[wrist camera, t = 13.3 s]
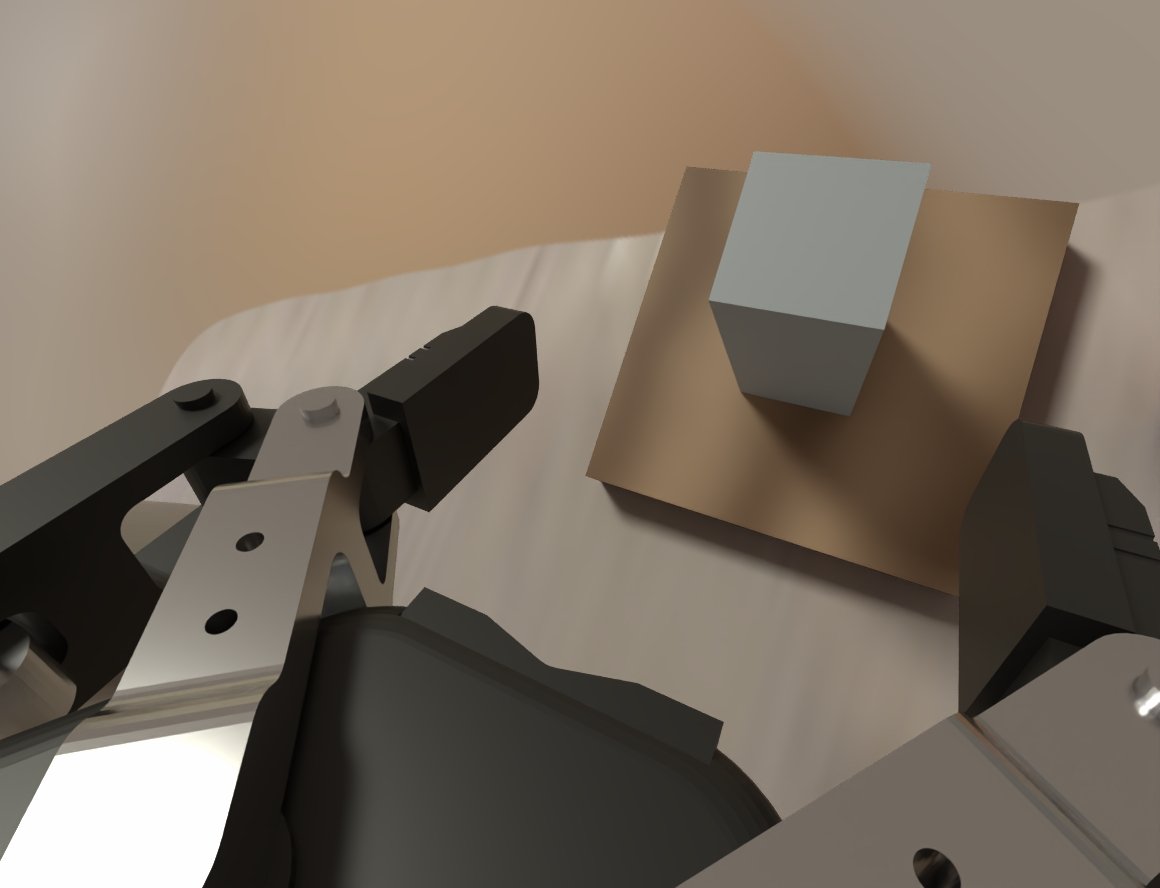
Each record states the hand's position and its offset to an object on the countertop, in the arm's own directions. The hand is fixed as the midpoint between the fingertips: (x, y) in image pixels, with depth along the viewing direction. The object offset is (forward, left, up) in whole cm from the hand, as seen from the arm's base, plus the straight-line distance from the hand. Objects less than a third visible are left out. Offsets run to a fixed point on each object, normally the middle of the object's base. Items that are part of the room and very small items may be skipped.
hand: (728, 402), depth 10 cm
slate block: (0, +5, -13) cm, 14 cm away
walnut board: (0, +5, -15) cm, 16 cm away
